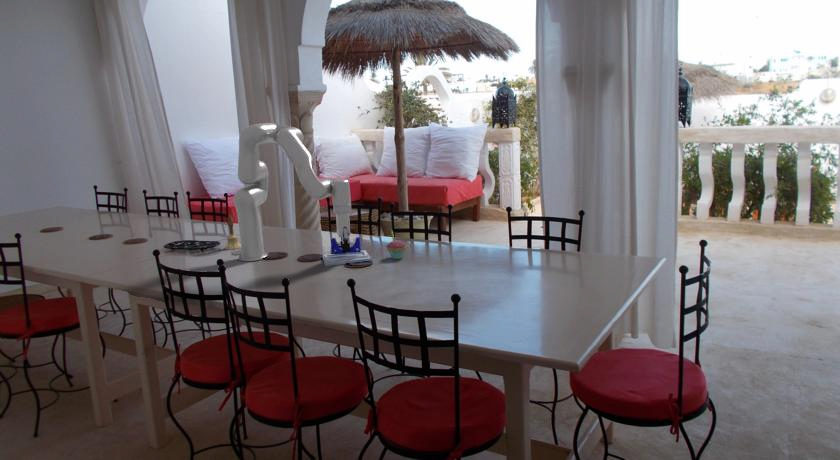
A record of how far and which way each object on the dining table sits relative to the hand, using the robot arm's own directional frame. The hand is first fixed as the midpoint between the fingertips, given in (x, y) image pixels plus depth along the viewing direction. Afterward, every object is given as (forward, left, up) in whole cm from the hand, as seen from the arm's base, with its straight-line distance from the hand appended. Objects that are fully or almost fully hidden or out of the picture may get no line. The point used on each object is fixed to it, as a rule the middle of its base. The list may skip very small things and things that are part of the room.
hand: (345, 250), depth 273 cm
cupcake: (+21, -6, -4) cm, 22 cm away
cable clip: (0, 0, -1) cm, 1 cm away
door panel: (0, 0, -4) cm, 4 cm away
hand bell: (-49, +45, -4) cm, 67 cm away
